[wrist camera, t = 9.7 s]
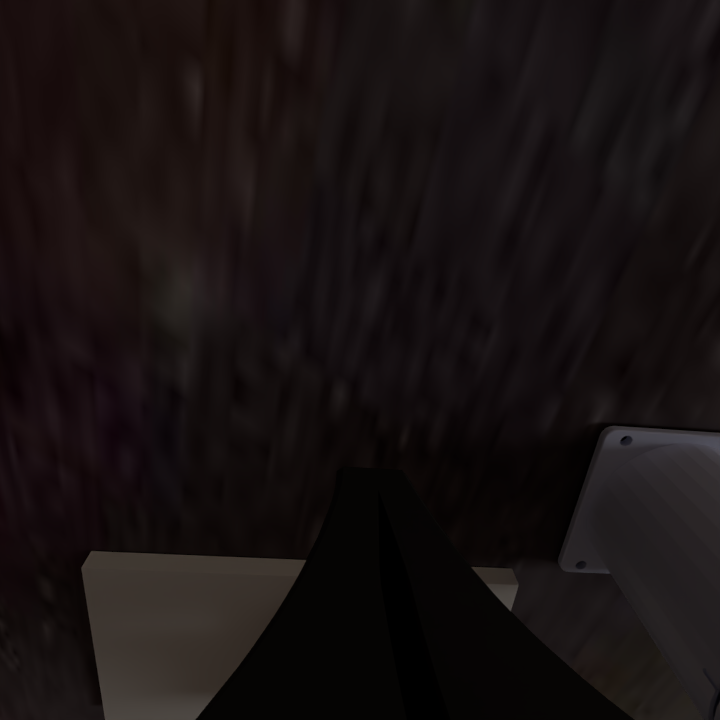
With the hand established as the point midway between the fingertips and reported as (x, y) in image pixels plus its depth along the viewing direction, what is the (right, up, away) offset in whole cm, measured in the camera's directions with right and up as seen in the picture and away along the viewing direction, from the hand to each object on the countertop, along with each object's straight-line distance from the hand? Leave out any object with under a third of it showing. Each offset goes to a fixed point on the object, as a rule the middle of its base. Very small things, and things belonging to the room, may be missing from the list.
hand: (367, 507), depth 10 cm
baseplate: (-3, -12, +16) cm, 20 cm away
